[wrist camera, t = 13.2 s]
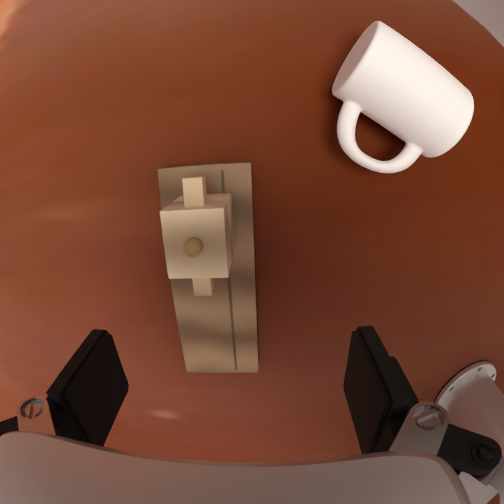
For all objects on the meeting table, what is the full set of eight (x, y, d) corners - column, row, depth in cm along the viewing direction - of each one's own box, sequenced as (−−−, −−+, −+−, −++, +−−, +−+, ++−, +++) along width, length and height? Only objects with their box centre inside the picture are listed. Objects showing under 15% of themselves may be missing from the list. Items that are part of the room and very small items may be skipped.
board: (258, 360, 35) (258, 372, 33) (190, 361, 35) (187, 372, 33) (250, 161, 27) (250, 162, 25) (163, 166, 27) (157, 169, 25)
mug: (357, 35, 23) (389, 7, 15) (437, 92, 24) (485, 85, 17) (303, 137, 26) (322, 136, 19) (390, 189, 28) (431, 207, 20)
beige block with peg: (235, 269, 28) (229, 307, 22) (188, 270, 28) (169, 307, 22) (230, 169, 25) (220, 179, 19) (178, 172, 25) (153, 184, 19)
